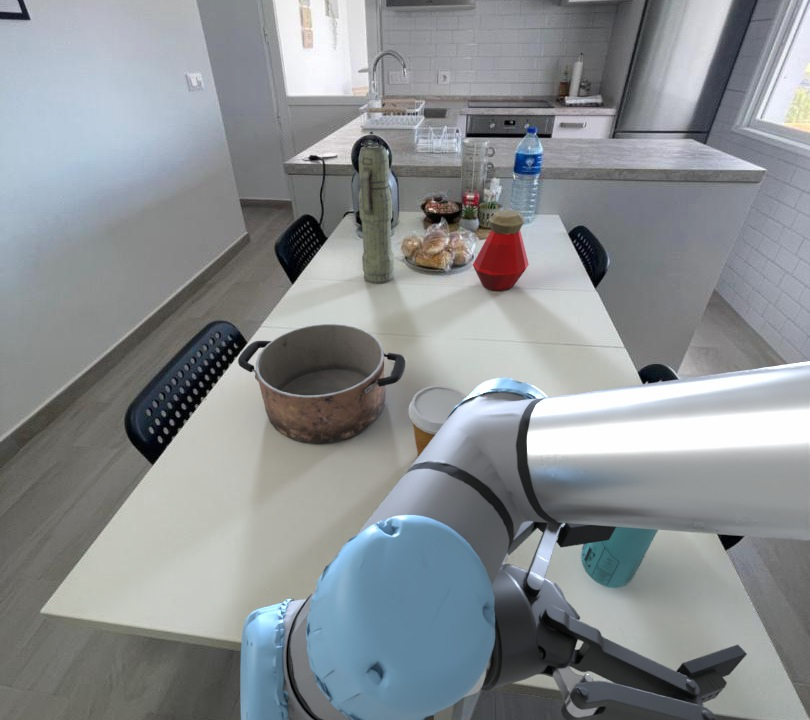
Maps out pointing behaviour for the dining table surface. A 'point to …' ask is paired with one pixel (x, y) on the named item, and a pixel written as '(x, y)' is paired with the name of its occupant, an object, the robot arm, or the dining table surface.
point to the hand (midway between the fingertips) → (664, 584)
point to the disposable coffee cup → (432, 412)
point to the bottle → (502, 252)
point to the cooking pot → (322, 381)
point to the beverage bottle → (617, 556)
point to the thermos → (375, 214)
